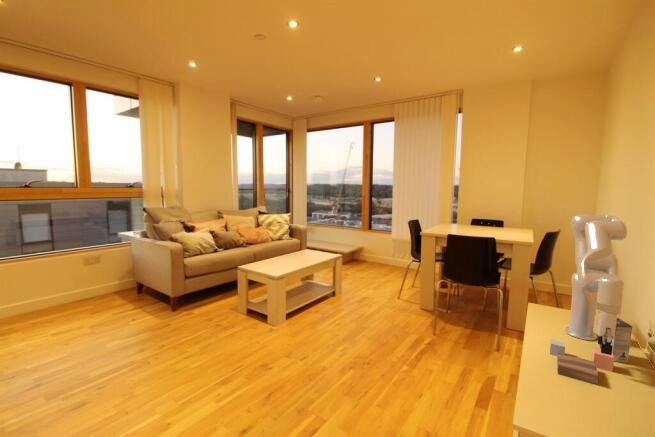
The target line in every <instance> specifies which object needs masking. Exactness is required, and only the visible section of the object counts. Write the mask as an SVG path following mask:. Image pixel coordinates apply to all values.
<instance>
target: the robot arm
mask: <svg viewBox="0 0 655 437" xmlns="http://www.w3.org/2000/svg"><path fill="white" fill-rule="evenodd" d="M570 229H571V232H572V235H573V238H574V242H575V248H574V249H575V252H574V254H575V255H574V258H575V260H574V262H575V265H576V272H574V273H573V274H572V275H571V282H570V283H571V303H570V312H569V325H568V326H567V327H565V328H564V332H565V333H566V334H567V335H569V336H571V337H573V338H576V339H579V340H584V341H596V340H597V344H598V345H601V353H603V354H607V355H612V347H613V345H612V339H614V337H615V330H616V319H617V318H618V317H617V316H619V315H621V313H622V304H623V295H624V294H623V293H624V281H623V280H622V279H621V277H619V263H618V261H619V260H618V258H617V256H616V255H615V254H614V253H613V247H612V241H622V240H625V239H626V238H627V235H628V229H627V226H626V224H625V223H624V221H622V220H621V219H620V218H619V217H617V216H615V215H606V214H605V215H604V214H588V213H586V214H584V213H583V214H576V215H574V216H572V218H571V221H570ZM591 294H596V299H595V298H594V297H593V296H592V295H591ZM596 311H597V317H596ZM595 319H596V320H595ZM595 321H596V326H595ZM594 328H595V329H594ZM594 330H595V331H596V333H594Z"/></svg>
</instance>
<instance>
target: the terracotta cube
mask: <svg viewBox="0 0 655 437" xmlns="http://www.w3.org/2000/svg"><path fill="white" fill-rule="evenodd" d="M591 361H593V362H595V365H596V368H597V369H599V370H602V371H606V372H610V373H613V372H614V363H615V361H614V356H613V353H612V355H607V354H603V353H601V349H599V347H598V348H597V347H592V354H591Z"/></svg>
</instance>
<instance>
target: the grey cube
mask: <svg viewBox="0 0 655 437" xmlns="http://www.w3.org/2000/svg"><path fill="white" fill-rule="evenodd" d="M565 350H566V343H565V342H564V341H560V340H556V339H550V345H549V355H551V356H553V357H554V356H555V357H557V356H558V353H562V354H565V352H566V351H565Z"/></svg>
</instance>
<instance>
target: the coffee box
mask: <svg viewBox="0 0 655 437" xmlns="http://www.w3.org/2000/svg"><path fill="white" fill-rule="evenodd" d="M632 333H633V325H630V324H629V323H627V322H626V321H625V320H623V319H621V318H619V317H617V319H616V330H615V337H614V339H612V345H613V347H612V353H613V356H614V362H618V363H619V362H620V363H628V362H629V356H630V348H631V339H632ZM598 349H601V345H600V344H598Z"/></svg>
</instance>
